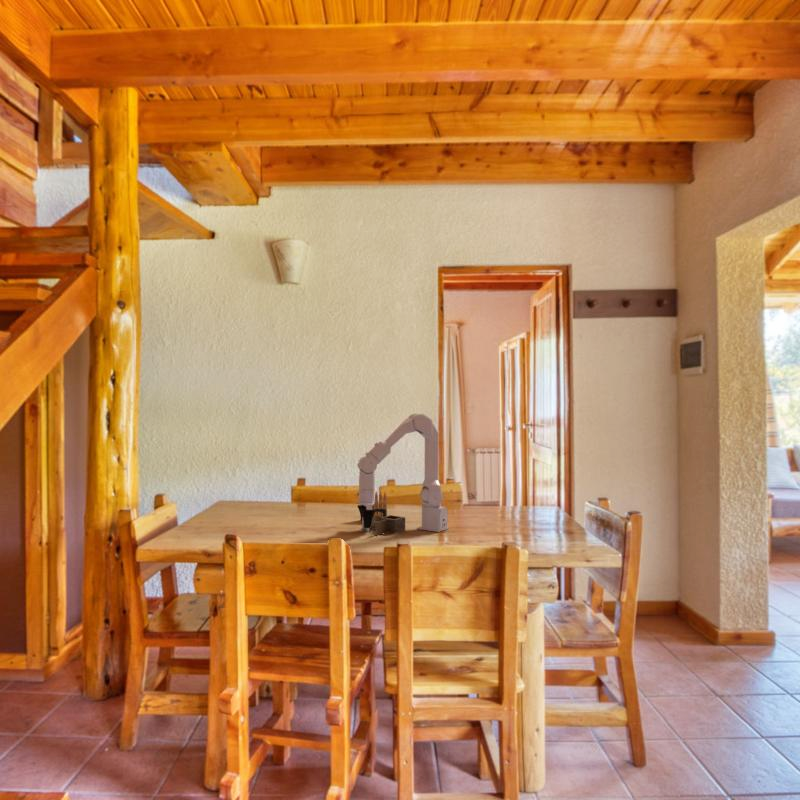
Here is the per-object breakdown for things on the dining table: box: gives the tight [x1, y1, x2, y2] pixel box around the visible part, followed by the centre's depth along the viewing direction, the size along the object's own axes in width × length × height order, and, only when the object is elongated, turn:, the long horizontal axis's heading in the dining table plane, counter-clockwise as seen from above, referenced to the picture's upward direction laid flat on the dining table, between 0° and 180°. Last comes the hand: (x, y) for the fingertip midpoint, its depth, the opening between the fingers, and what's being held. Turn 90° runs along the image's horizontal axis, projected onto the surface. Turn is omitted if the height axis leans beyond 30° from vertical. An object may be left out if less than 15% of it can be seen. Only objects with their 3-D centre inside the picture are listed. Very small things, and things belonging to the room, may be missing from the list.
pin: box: [361, 516, 371, 533], centre depth 223 cm, size 3×3×8 cm
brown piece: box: [371, 514, 406, 536], centre depth 224 cm, size 14×14×5 cm
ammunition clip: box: [372, 490, 388, 517], centre depth 243 cm, size 11×2×12 cm, turn 79°
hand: (366, 526), depth 223 cm, fingers open, 5 cm apart
